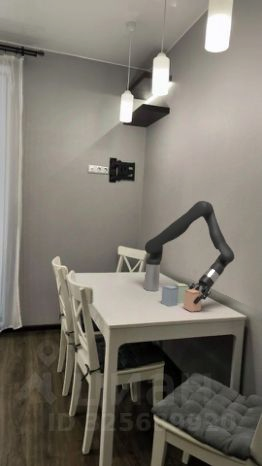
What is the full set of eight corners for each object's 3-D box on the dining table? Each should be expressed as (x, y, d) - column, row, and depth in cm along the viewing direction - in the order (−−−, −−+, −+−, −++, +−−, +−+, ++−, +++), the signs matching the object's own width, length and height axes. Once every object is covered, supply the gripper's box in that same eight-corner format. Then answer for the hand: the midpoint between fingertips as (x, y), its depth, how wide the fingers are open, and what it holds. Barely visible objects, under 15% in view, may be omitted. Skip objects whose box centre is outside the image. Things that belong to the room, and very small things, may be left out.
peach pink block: (183, 307, 174) (185, 289, 174) (192, 306, 177) (194, 289, 177) (191, 311, 169) (192, 292, 168) (200, 310, 172) (202, 292, 171)
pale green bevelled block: (173, 299, 191) (174, 283, 190) (183, 299, 193) (184, 283, 192) (177, 303, 185) (178, 286, 184) (187, 303, 186) (188, 286, 186)
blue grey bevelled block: (161, 303, 182) (162, 286, 181) (169, 302, 186) (170, 285, 185) (169, 306, 177) (170, 288, 176) (177, 305, 181) (178, 287, 180)
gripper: (197, 271, 181) (178, 293, 177) (214, 277, 169) (195, 300, 164) (203, 280, 184) (185, 302, 180) (221, 286, 172) (202, 309, 167)
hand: (190, 301), depth 172 cm, fingers closed on peach pink block, 6 cm apart
